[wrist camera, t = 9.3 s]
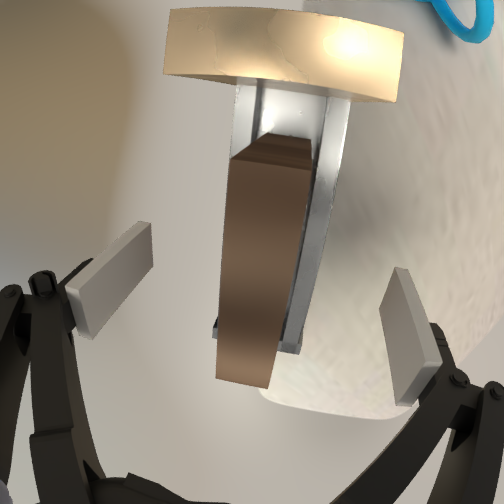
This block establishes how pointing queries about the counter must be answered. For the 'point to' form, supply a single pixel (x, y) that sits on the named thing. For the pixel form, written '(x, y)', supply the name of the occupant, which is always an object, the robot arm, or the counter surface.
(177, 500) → the robot arm
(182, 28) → the door track
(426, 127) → the counter surface
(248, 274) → the door panel
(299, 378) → the counter surface
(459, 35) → the mug
